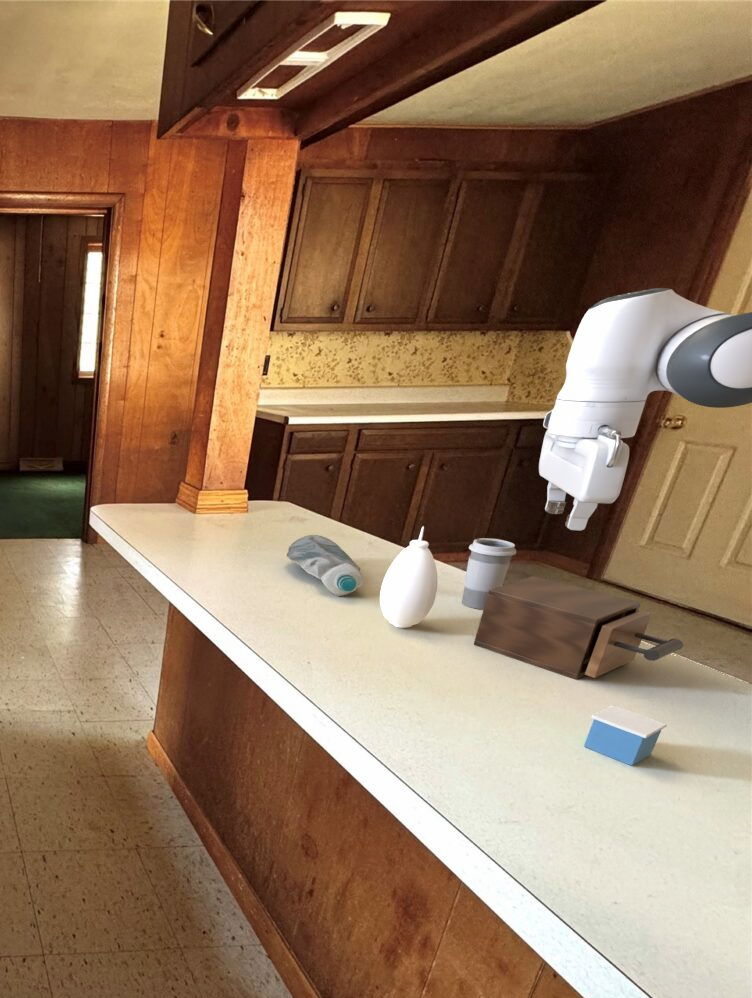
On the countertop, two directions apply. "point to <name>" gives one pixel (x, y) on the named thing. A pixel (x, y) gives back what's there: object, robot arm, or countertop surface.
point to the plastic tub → (623, 734)
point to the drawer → (624, 643)
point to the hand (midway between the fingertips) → (563, 520)
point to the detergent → (326, 563)
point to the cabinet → (547, 622)
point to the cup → (485, 569)
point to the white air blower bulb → (409, 585)
